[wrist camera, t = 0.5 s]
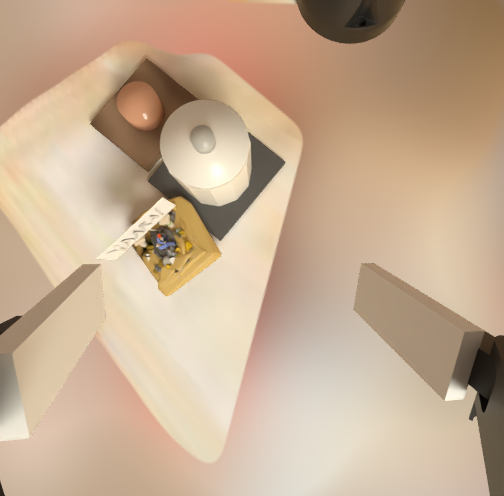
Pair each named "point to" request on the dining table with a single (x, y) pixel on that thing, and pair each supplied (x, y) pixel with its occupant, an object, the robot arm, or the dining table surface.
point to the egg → (140, 106)
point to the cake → (168, 243)
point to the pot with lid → (207, 151)
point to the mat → (227, 215)
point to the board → (128, 138)
